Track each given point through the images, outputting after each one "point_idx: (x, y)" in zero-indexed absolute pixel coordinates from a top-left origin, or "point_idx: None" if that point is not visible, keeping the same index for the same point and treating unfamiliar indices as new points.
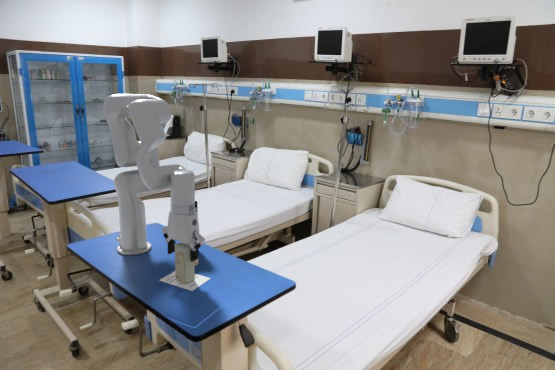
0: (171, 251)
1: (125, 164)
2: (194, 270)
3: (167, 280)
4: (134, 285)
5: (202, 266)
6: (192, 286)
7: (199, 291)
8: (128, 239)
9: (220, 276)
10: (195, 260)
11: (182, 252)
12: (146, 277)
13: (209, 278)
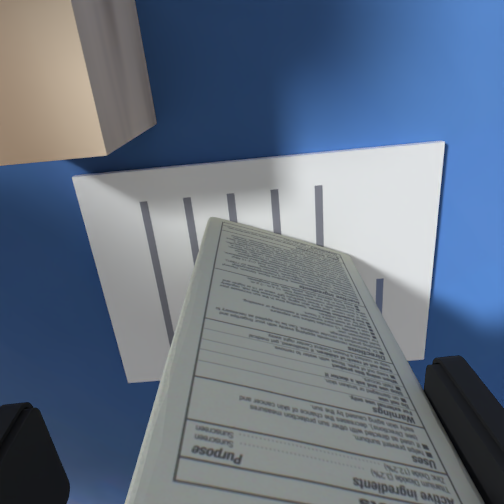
0: (50, 485)
1: None
2: (375, 304)
3: None
4: (70, 472)
5: None
6: (389, 321)
7: (463, 326)
8: None
9: (497, 38)
10: (117, 11)
11: None
12: (21, 388)
13: (435, 154)
